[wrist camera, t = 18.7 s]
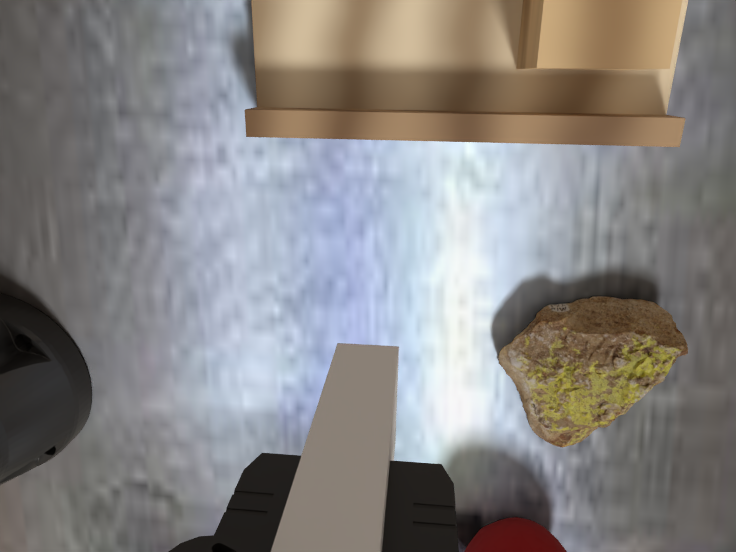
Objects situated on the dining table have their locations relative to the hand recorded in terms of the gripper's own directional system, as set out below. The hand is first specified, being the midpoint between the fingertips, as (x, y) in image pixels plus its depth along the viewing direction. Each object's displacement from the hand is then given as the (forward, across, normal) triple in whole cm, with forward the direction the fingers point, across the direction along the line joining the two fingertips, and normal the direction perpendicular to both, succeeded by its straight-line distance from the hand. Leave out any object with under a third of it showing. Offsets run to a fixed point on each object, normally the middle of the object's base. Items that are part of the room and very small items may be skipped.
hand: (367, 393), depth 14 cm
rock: (+25, +13, -12) cm, 30 cm away
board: (+24, +3, +10) cm, 27 cm away
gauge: (+22, +9, +12) cm, 27 cm away
